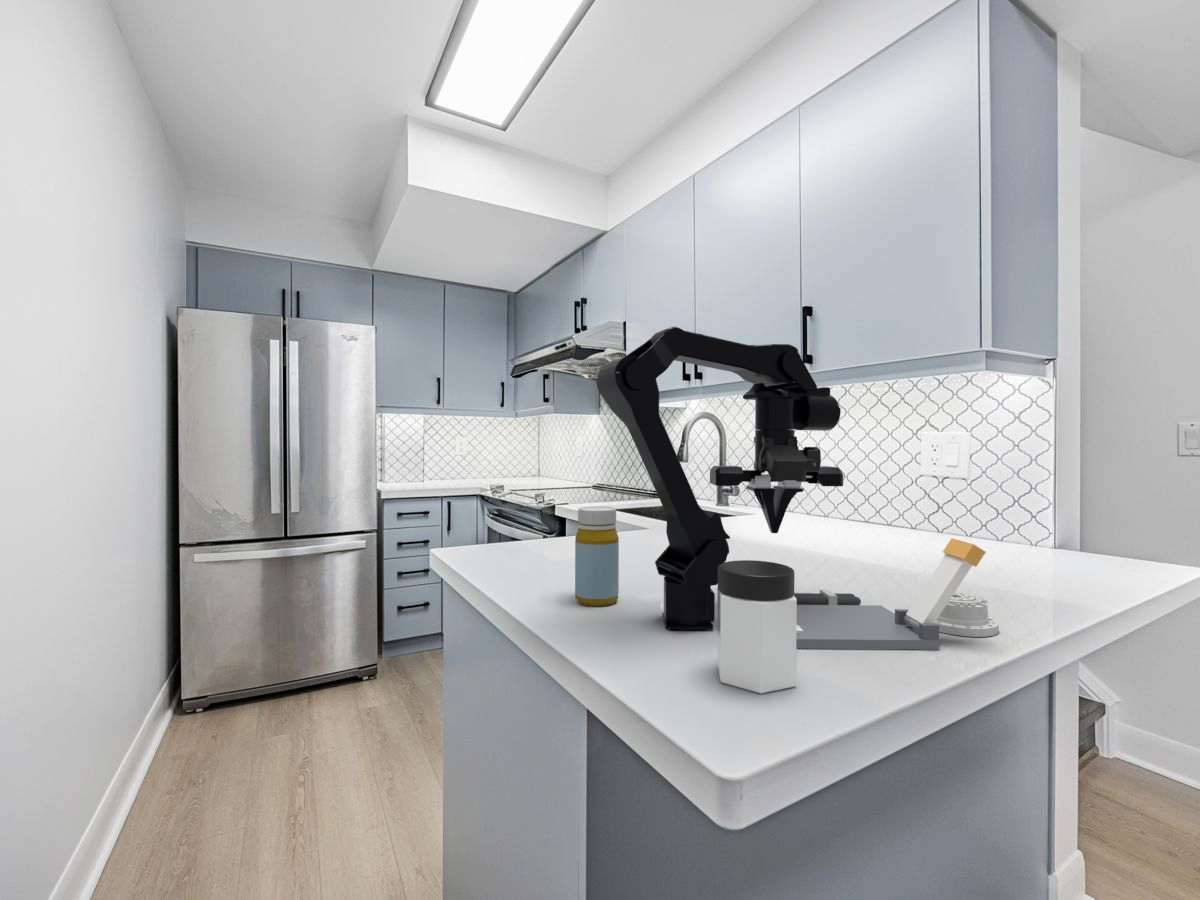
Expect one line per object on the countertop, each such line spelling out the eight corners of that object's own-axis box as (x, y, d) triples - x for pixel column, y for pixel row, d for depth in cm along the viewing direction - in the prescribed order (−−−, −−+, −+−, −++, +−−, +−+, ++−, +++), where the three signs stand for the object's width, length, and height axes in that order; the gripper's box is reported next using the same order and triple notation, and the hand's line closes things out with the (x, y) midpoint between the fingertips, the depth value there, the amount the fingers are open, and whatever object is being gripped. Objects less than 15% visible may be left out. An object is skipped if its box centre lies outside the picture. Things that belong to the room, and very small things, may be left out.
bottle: (592, 593, 96) (592, 505, 96) (626, 599, 92) (627, 508, 92) (566, 602, 90) (566, 509, 90) (601, 610, 86) (602, 512, 86)
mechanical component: (928, 636, 76) (1012, 642, 73) (928, 603, 75) (1013, 608, 73) (905, 614, 85) (979, 618, 83) (905, 585, 85) (979, 589, 83)
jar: (763, 657, 67) (764, 557, 67) (813, 684, 60) (814, 571, 59) (699, 668, 64) (699, 563, 64) (743, 699, 56) (744, 579, 56)
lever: (917, 629, 71) (973, 544, 71) (898, 618, 76) (951, 538, 75) (929, 637, 71) (985, 552, 71) (909, 625, 76) (962, 545, 75)
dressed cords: (738, 606, 88) (738, 595, 88) (733, 599, 92) (733, 588, 92) (863, 607, 88) (863, 596, 88) (852, 600, 92) (852, 589, 92)
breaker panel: (769, 648, 70) (769, 624, 70) (741, 612, 85) (741, 592, 85) (939, 650, 70) (939, 625, 70) (881, 613, 85) (881, 593, 85)
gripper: (723, 428, 77) (723, 541, 77) (860, 428, 77) (859, 542, 77) (709, 430, 88) (708, 529, 89) (828, 430, 88) (828, 530, 88)
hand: (774, 532), depth 85 cm, fingers closed
